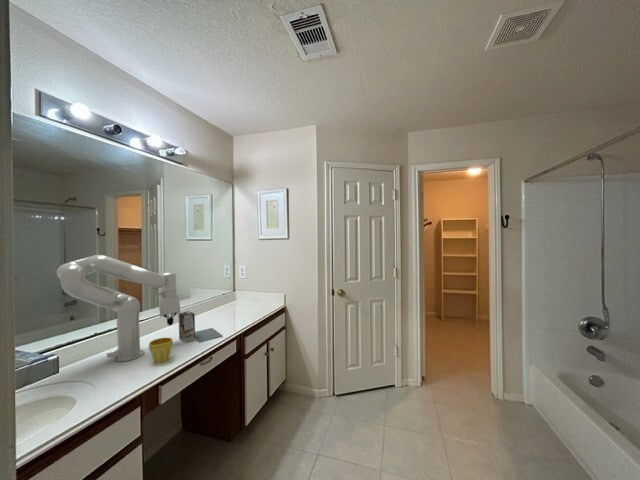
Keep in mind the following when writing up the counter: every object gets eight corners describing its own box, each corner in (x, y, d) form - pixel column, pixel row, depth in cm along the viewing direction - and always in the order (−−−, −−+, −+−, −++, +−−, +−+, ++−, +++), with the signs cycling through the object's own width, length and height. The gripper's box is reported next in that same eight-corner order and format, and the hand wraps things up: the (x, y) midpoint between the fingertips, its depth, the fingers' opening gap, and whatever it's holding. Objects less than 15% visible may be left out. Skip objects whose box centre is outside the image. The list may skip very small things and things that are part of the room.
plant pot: (177, 358, 138) (176, 339, 138) (156, 366, 129) (156, 346, 129) (165, 354, 143) (165, 335, 143) (145, 362, 134) (144, 342, 134)
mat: (199, 342, 158) (199, 341, 158) (190, 333, 173) (189, 333, 173) (222, 336, 167) (222, 335, 167) (212, 328, 182) (212, 327, 182)
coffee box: (195, 340, 162) (194, 313, 162) (184, 343, 158) (183, 315, 157) (189, 336, 169) (188, 310, 168) (178, 339, 164) (177, 313, 164)
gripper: (155, 296, 149) (156, 329, 150) (184, 292, 159) (185, 323, 159) (153, 294, 155) (154, 326, 155) (181, 290, 165) (182, 320, 165)
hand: (170, 324), depth 157 cm, fingers closed
